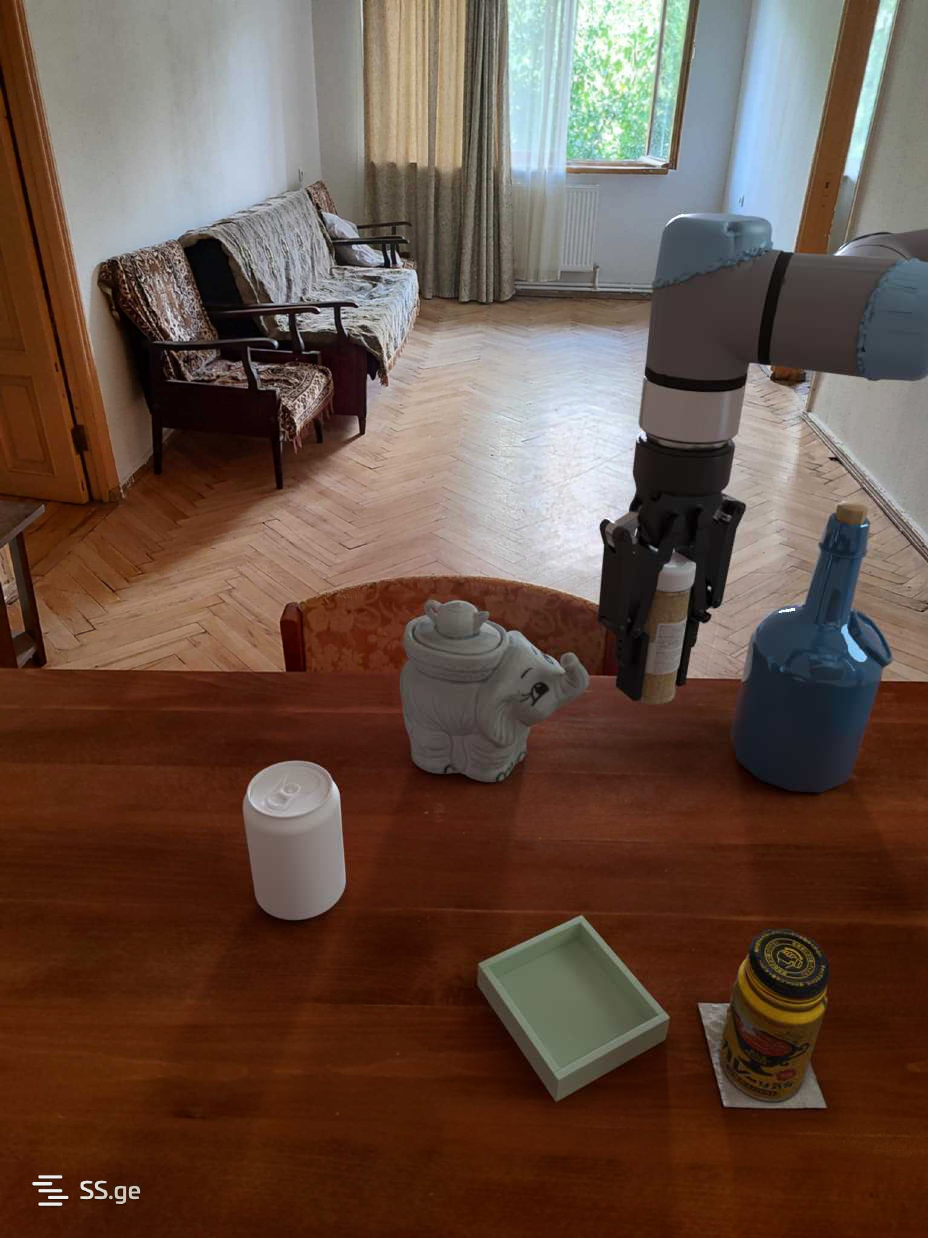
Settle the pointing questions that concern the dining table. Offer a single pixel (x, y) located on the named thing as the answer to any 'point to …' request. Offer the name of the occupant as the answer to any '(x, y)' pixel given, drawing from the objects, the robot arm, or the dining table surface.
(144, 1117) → the dining table surface
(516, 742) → the elephant cookie jar
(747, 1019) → the condiment
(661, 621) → the sprinkles bottle
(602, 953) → the tray
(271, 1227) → the dining table surface
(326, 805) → the beverage can
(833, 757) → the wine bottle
